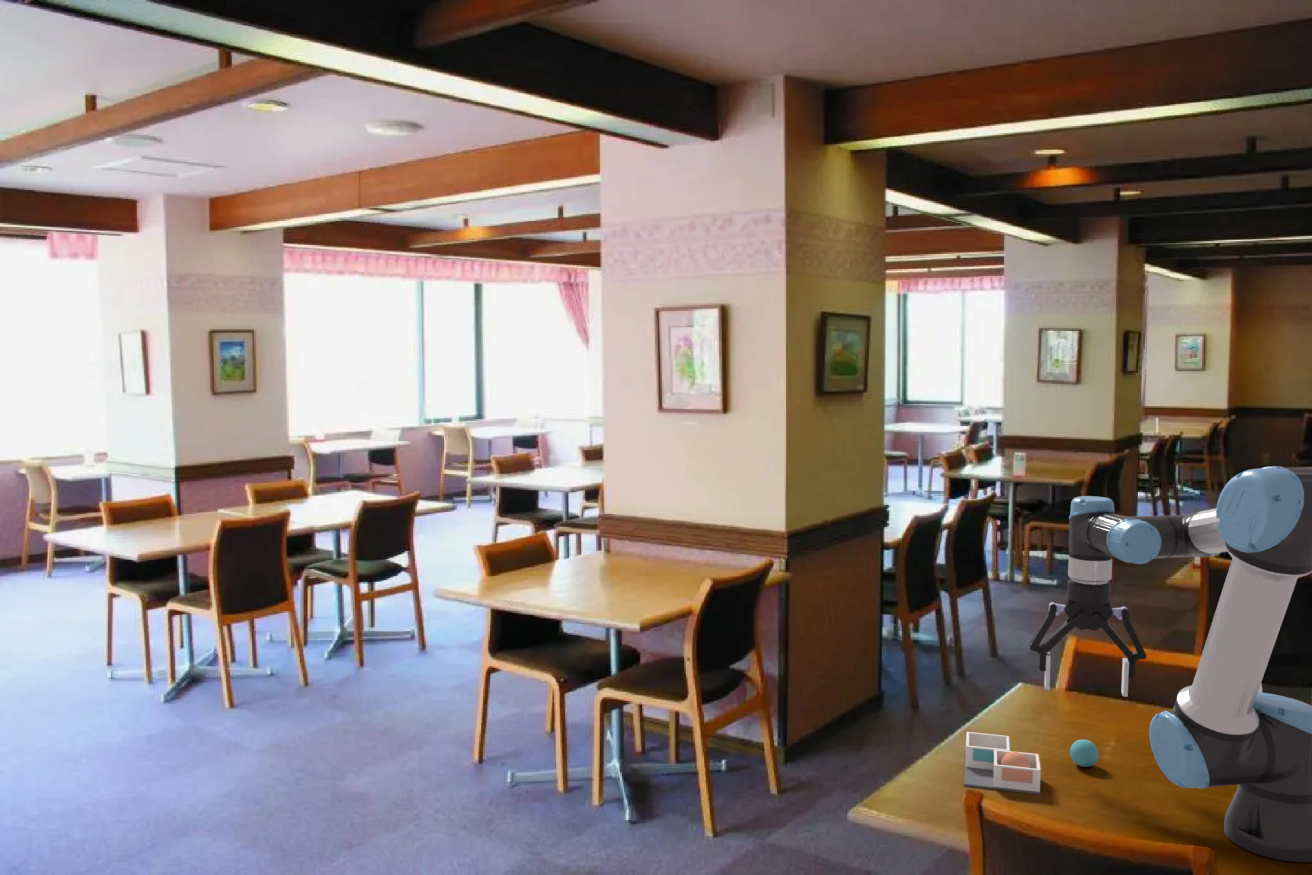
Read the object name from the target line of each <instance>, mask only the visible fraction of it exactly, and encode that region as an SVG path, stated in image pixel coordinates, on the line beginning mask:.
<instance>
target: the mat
mask: <svg viewBox="0 0 1312 875" xmlns="http://www.w3.org/2000/svg"><path fill="white" fill-rule="evenodd" d="M964 754H965V759H964V760H965V761H964V779H963V780H964V782H963V786H964V787H970V788H971V787H972V788H979V789H989V790H998V791H1007V792H1016V793H1022V794H1023V793H1024V794H1031V795H1032V794H1033V795H1041V791H1040V792H1035V791H1026V790H1017V789H1008V788H999V787H994V775H993V770H989V769H980V768H971V767H966V753H964Z"/></svg>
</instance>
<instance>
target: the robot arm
mask: <svg viewBox="0 0 1312 875" xmlns="http://www.w3.org/2000/svg"><path fill="white" fill-rule="evenodd" d="M1070 503H1071V504H1070V511H1069V512H1070V514H1069V516H1068V519H1069V525H1068V528H1069V529H1068V532H1069V533H1068V564H1067V565H1068V568H1067V576H1068V577H1069V579H1068V580H1067V588H1066V589H1067V592H1066V594H1067V596H1066V603H1065V604H1060V603H1056V602H1055V601H1050V602H1049V603H1048V610H1047V614H1046V615H1045V617H1044V618H1043V620H1042V621H1041V623H1040V625H1039V626H1038V628H1037V630H1036V632H1035V633H1034V635H1033V637H1032V639H1031V640H1030V642H1029V645H1028V646H1029V649H1030V650H1031V651H1032V652H1036V653H1037V654H1038V669H1039V671H1040V672H1044V690H1046V691H1050V688H1051V686H1050V685H1051V658H1052V657H1051V653H1050V651H1051V650H1052V649H1053V648H1054V647H1055V646H1056V645H1057V644H1058V643H1059V642H1060V641H1062V639H1063V638H1064V637H1065V636H1066V635H1067V634H1068V633H1070V632H1071V631H1072V630H1073V629H1074V628H1076V629H1078V630H1082V631H1083V630H1084V631H1085V630H1090V631H1095V632H1097V631H1098V630H1101V629H1102V630H1103V631H1104V633H1106V635H1107V636H1108V637H1109V638H1110V640H1112V642H1113V643H1114V644H1115V645H1116V647H1118V649H1119V650H1120V651H1121V652H1122V654H1123V655H1124V656H1125V657H1122V668H1121V671H1122V672H1121V690H1120V691H1121V694H1122V697H1126V698H1127V697H1129V696H1128V695H1129V679H1134V678H1135V676H1136V662H1137V661H1139V660H1145V659H1147V654H1146V652H1145V650H1144V647H1143V645H1142V643H1141V641H1140V639H1139V636H1137V633H1136V631H1135V629H1134V628H1133V625H1132V623H1131V621H1130V612H1129V609H1128V608H1127V606H1125V605H1121V607H1112V605H1111V598H1112V597H1111V596H1112V583H1111V582H1110V580H1112V578H1113V577H1112V576H1113V575H1112V574H1113V573H1112V572H1113V571H1112V570H1113V569H1112V568H1113V558H1114V559H1115V558H1116V559H1118V560H1119V561H1122V562H1124V563H1128V564H1135V565H1136V564H1137V565H1143V564H1147V563H1148V562H1150V561H1152V560H1154V559H1168V558H1193V557H1195V558H1207V557H1210V556H1217V555H1220V554H1221V553H1226V552H1227V553H1228V554H1229V555H1230V557H1231V558H1232V559H1231V562H1230V565H1229V569H1228V572H1227V575H1226V577H1225V581H1224V584H1223V588H1222V589H1221V594H1220V596H1219V600H1218V603H1217V607H1216V610H1215V612H1214V614H1213V618H1212V622H1211V625H1210V628H1209V631H1208V634H1207V638H1206V640H1205V644H1204V647H1203V649H1202V652H1201V657H1200V660H1199V663H1198V666H1197V670H1196V672H1195V676H1194V678H1193V682H1192V685H1188V686H1185V687H1182V689H1180V690H1179V692H1178V693H1177V696H1176V698H1175V699H1176V700H1175V702H1174V704H1173V705H1174V706H1173V709H1172V710H1170V711H1169V710H1168V711H1167V710H1164V711H1161V712H1158V713H1156V714H1155V715H1154V716H1153V717H1152V719H1151V721H1150V725H1149V731H1148V732H1149V734H1148V735H1149V742H1150V747H1151V751H1152V753H1153V757H1154V759H1155V761H1156V763H1157V766H1158V767H1159V768H1160V770H1161V772H1162V773H1163V775H1164V776H1165V777H1166V778H1167V779H1168V780H1169V781H1170V782H1172V783H1173V784H1174V785H1175V786H1178V787H1179V788H1184V789H1207V788H1214V787H1216V788H1217V787H1223V786H1224V787H1225V786H1237V789H1236V790H1235V793H1234V795H1233V796H1232V800H1231V801H1230V804H1229V806H1228V808H1227V811H1226V813H1225V816H1224V820H1223V832H1224V835H1225V836H1226V838H1228V839H1229V840H1230V841H1231V843H1234V844H1235V845H1237V846H1238V847H1240V848H1242V849H1244V850H1246V851H1249V852H1251V853H1253V854H1257V855H1259V856H1263V857H1266V858H1270V859H1274V860H1279V861H1285V862H1292V863H1312V705H1311V704H1309V703H1306V702H1304V701H1301V700H1297V699H1295V698H1291V697H1288V696H1287V697H1286V696H1283V695H1278V694H1273V693H1267V692H1262V693H1260V692H1258V690H1259V687H1260V684H1262V681H1263V678H1264V677H1265V676H1264V675H1265V672H1266V669H1267V667H1268V665H1269V664H1268V663H1269V661H1270V659H1271V655H1272V653H1273V649H1274V647H1275V644H1276V642H1277V638H1278V636H1279V632H1280V631H1281V630H1280V629H1281V627H1282V624H1283V621H1284V619H1285V618H1284V617H1285V615H1286V613H1287V609H1288V607H1289V604H1290V601H1291V598H1292V596H1293V592H1294V590H1295V587H1296V584H1297V581H1298V578H1302V577H1305V576H1308V575H1310V574H1311V573H1312V466H1294V467H1293V466H1292V467H1291V466H1290V467H1289V466H1288V467H1286V466H1285V467H1284V466H1276V465H1273V466H1270V465H1269V466H1265V467H1262V468H1252V469H1247V470H1244V471H1242V472H1239V473H1238V474H1236V475H1235V476H1233V477H1232V478H1231V479H1230V480H1229V481H1227V483H1226V484H1225V486H1224V487H1223V489H1222V491H1221V493H1219V496H1218V500H1217V503H1216V508H1212V509H1206V510H1201V511H1197V512H1191V513H1186V514H1174V515H1173V514H1172V515H1171V514H1170V515H1138V516H1137V515H1136V516H1127V515H1122V514H1116V511H1115V503H1114V501H1113V500H1112V499H1111V498H1109V497H1103V496H1096V495H1095V496H1092V495H1084V496H1083V495H1082V496H1076V497H1073V499H1072V500H1071V502H1070ZM1062 612H1064V613H1065V615H1066V616H1067V618H1066V619H1065V621H1064V622H1063V623H1062V624H1061V625H1060V626H1059V627H1058V628H1057V629H1056V630H1055V631H1054V632H1053V633H1052V634H1051V635H1050V636H1049V637H1048V638H1047V639H1046V640H1045V641H1044V642H1043V643H1042V644H1041V642H1042V641H1043V639H1044V638H1045V636H1046V635H1047V632H1048V631H1049V629H1050V628H1051V626H1052V624H1053V623H1054V621H1055V618H1056V617H1058V616H1059V615H1060V614H1061V613H1062ZM1113 615H1114V616H1116V618H1117V619H1118V620H1119V621H1121V622H1122V624H1123V626H1124V628H1125V630H1126V632H1127V634H1128V637H1129V638H1130V640H1131V643H1132V645H1133V647H1134V649H1135V650H1136V651H1132V650H1131V648H1129V646H1128V644H1126V643H1125V642H1124V640H1123V639H1122V638H1121V637H1120V635H1118V633H1117V632H1116V631H1115V630H1114V628H1113V627H1112V626H1111V625H1110V623H1109V622H1108V621H1109V620H1110V619H1111V618H1112V616H1113Z"/></svg>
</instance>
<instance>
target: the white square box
mask: <svg viewBox="0 0 1312 875" xmlns="http://www.w3.org/2000/svg"><path fill="white" fill-rule="evenodd" d="M1009 752H1015V751H1012V750H1011V751H1004V750H994V766H993V775H994V787H999V788H1008V789H1017V790H1026V791H1035V792H1040V793H1041V782H1042V765H1041V758H1040V756H1039V753H1031V752H1021V751H1018V752H1019V753H1021V754H1023V755H1024V756H1025V757H1026V758H1027V759H1028V761H1029V764H1030V768H1025V767H1016V766H1006V765H1001V761H1002V758H1003V757H1004V756H1005V755H1006V754H1007V753H1009Z"/></svg>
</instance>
